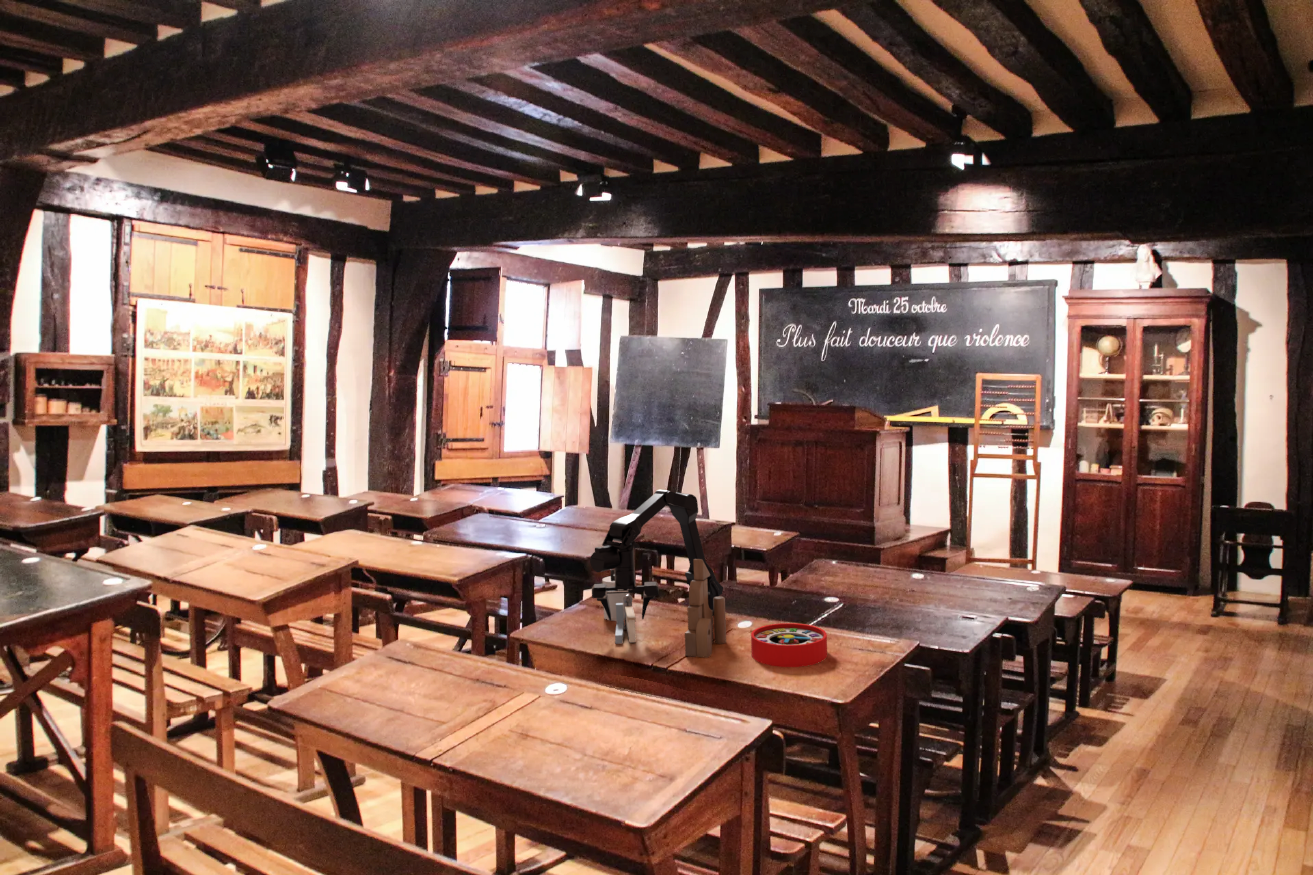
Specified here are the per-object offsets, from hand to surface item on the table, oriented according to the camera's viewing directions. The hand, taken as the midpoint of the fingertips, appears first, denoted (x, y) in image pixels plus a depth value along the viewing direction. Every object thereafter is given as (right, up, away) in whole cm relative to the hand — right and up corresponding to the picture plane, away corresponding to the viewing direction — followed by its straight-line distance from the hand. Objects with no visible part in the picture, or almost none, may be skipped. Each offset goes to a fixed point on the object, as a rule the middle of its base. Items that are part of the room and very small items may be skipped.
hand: (626, 619), depth 277 cm
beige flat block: (+1, -5, +4) cm, 7 cm away
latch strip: (-2, -6, +4) cm, 7 cm away
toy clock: (+44, -7, -17) cm, 47 cm away
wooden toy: (+22, -6, -9) cm, 25 cm away
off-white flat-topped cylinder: (-4, -4, +25) cm, 25 cm away
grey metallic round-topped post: (0, -5, +13) cm, 14 cm away
